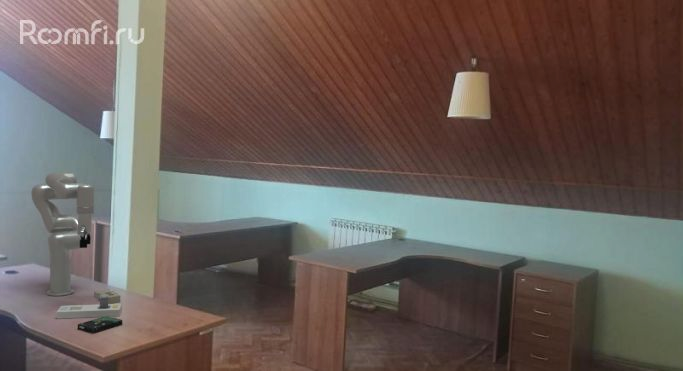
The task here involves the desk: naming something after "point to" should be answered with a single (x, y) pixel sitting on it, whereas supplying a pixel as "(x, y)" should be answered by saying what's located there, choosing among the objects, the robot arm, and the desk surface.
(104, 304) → the plug
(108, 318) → the disk drive
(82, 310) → the white device panel
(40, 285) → the desk surface
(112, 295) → the electrical outlet
